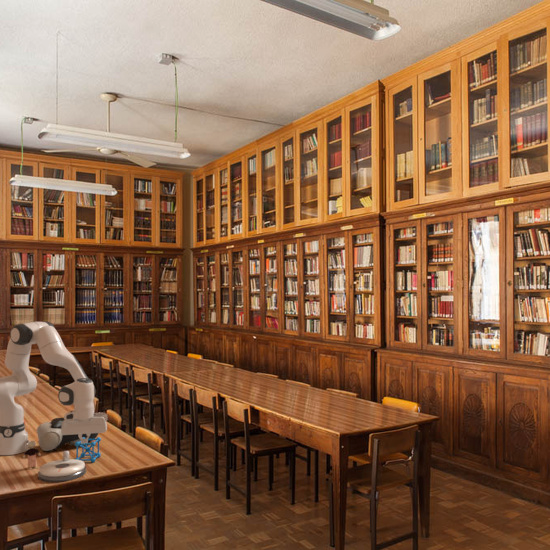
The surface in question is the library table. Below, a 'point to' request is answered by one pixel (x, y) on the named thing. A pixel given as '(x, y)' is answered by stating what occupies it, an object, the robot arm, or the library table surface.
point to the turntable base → (61, 477)
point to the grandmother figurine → (32, 455)
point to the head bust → (57, 435)
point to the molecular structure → (88, 450)
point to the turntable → (62, 467)
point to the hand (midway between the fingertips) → (84, 443)
